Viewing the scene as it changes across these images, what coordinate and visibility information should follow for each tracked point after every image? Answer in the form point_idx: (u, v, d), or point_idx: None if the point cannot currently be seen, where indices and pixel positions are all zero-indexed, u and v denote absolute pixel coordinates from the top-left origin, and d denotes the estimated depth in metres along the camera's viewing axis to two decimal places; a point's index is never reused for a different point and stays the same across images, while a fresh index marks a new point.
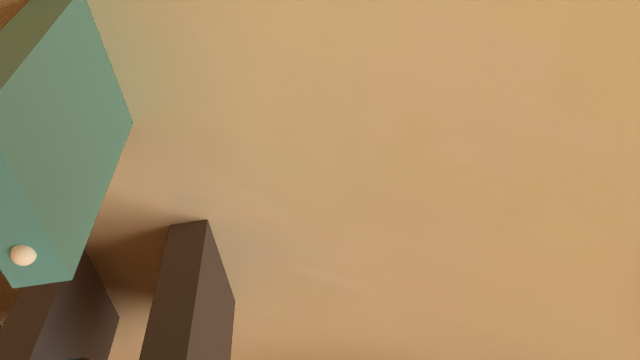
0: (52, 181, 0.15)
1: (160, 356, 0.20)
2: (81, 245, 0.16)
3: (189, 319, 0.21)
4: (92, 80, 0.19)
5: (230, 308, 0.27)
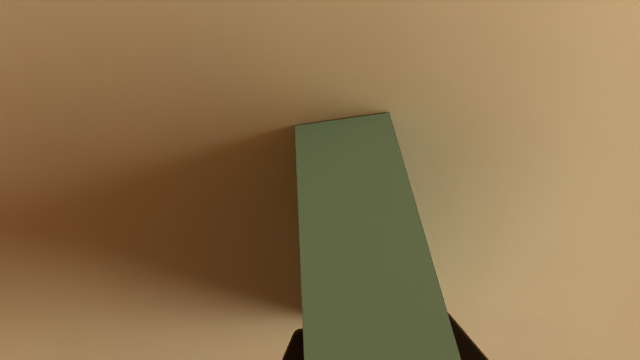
0: None
1: None
2: None
3: None
4: None
5: None
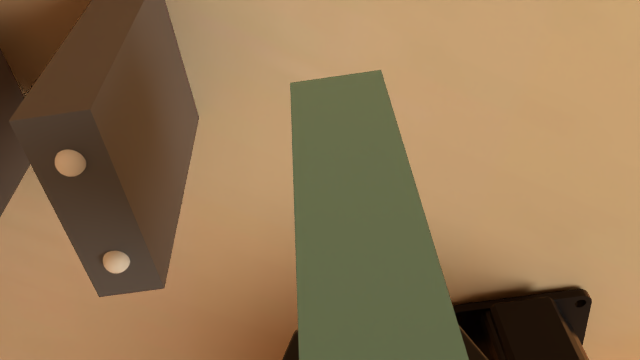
0: None
1: (63, 84, 0.13)
2: None
3: (115, 50, 0.14)
4: None
5: (191, 116, 0.20)
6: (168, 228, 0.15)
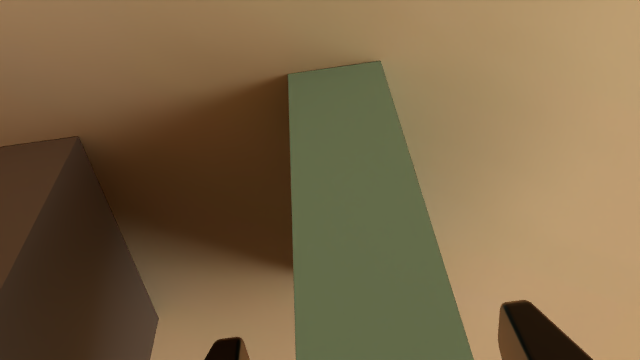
0: None
1: None
2: None
3: None
4: None
5: (141, 335, 0.13)
6: None
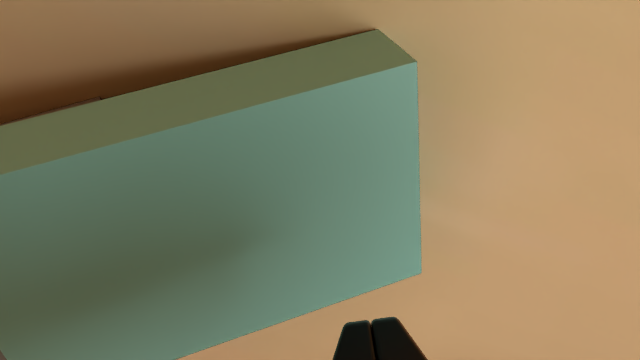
0: (66, 303, 0.10)
1: None
2: None
3: None
4: (321, 201, 0.11)
5: None
6: None
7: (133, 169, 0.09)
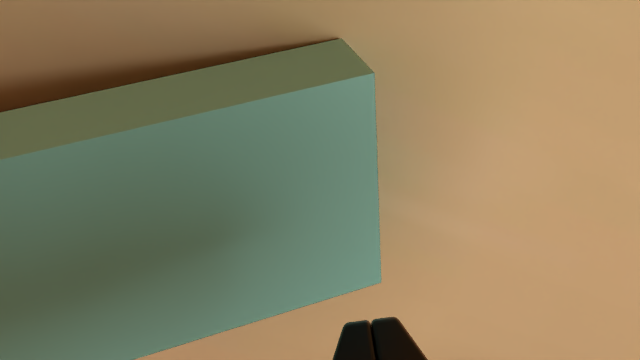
0: (16, 302, 0.10)
1: None
2: None
3: None
4: (278, 209, 0.11)
5: None
6: None
7: (84, 170, 0.09)
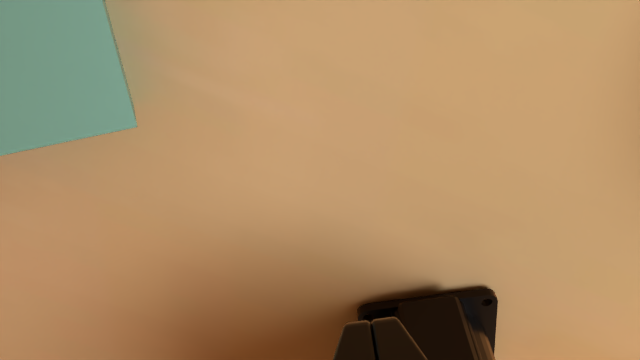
0: None
1: None
2: None
3: None
4: (49, 63, 0.18)
5: None
6: None
7: None
